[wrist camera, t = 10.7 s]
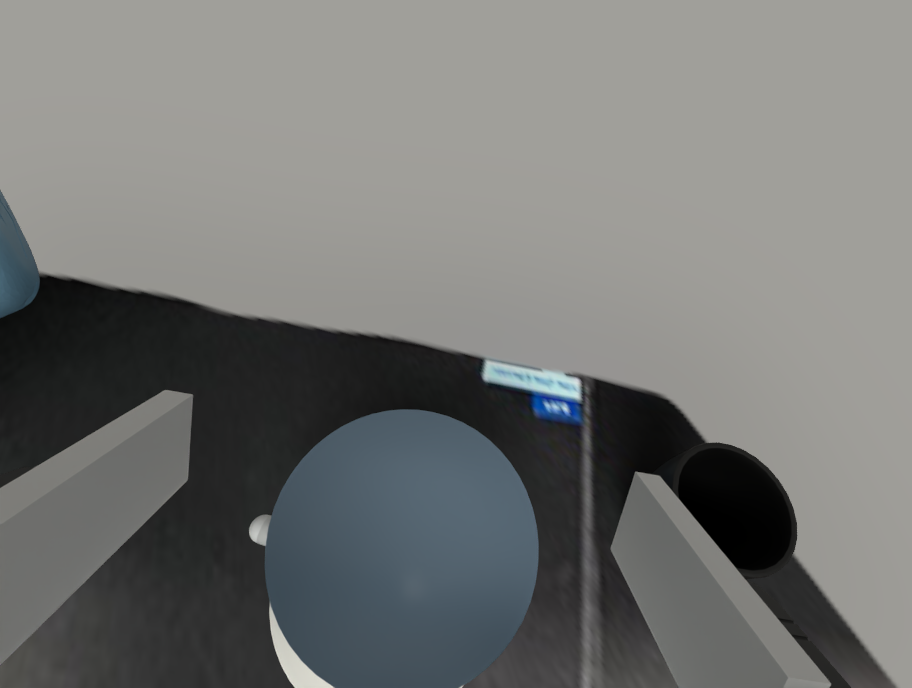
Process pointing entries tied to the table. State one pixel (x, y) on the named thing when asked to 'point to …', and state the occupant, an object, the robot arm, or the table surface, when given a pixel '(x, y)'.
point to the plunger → (401, 553)
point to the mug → (735, 505)
